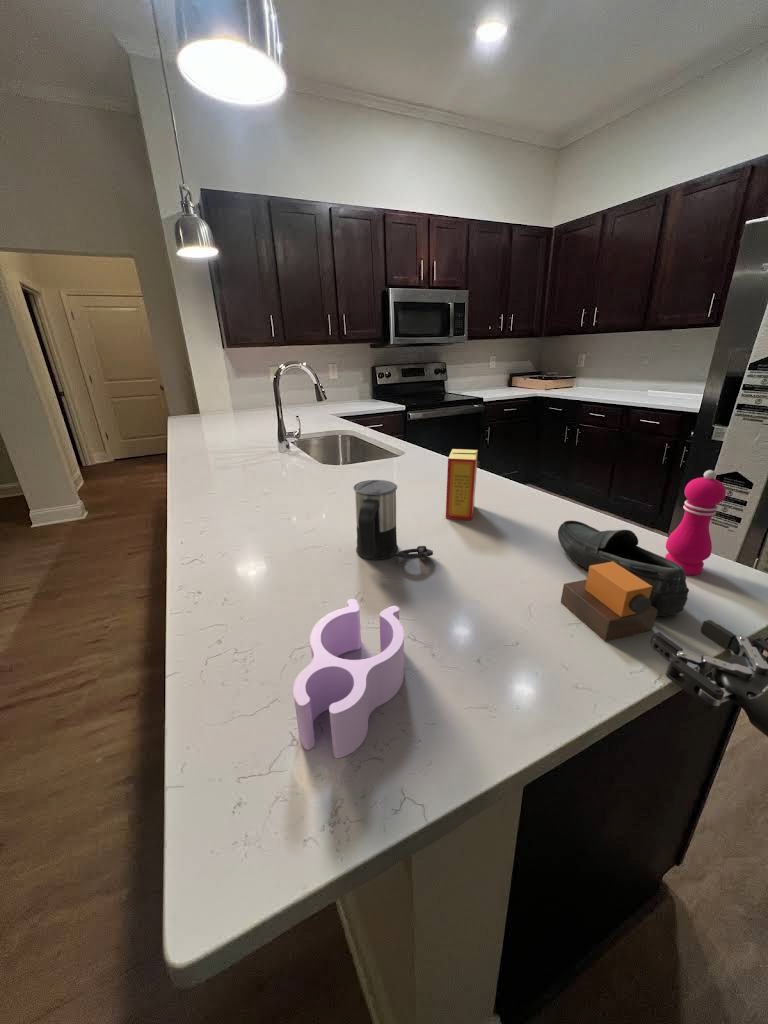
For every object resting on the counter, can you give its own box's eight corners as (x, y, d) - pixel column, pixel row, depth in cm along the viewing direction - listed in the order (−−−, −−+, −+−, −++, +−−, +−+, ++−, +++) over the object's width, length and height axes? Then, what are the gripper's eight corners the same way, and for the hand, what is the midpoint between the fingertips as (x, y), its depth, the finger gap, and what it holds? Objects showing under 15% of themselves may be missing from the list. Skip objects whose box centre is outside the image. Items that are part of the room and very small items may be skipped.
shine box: (652, 630, 66) (658, 610, 64) (604, 641, 63) (609, 621, 62) (603, 593, 75) (607, 575, 73) (560, 602, 73) (563, 583, 71)
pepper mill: (712, 571, 81) (745, 472, 73) (690, 580, 78) (722, 479, 70) (674, 555, 87) (701, 462, 79) (652, 563, 84) (678, 468, 76)
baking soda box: (471, 520, 105) (475, 458, 99) (445, 517, 107) (448, 457, 100) (473, 506, 113) (478, 448, 107) (449, 504, 115) (452, 447, 109)
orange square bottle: (652, 616, 63) (659, 590, 61) (627, 622, 62) (633, 596, 60) (607, 584, 71) (613, 561, 69) (584, 589, 70) (589, 565, 68)
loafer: (579, 538, 95) (587, 496, 90) (705, 613, 69) (723, 559, 65) (540, 546, 92) (546, 503, 88) (656, 627, 66) (672, 571, 62)
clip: (373, 768, 46) (371, 723, 43) (272, 740, 49) (265, 696, 46) (414, 646, 63) (415, 609, 60) (338, 632, 67) (335, 595, 64)
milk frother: (355, 541, 96) (352, 480, 90) (423, 537, 97) (424, 476, 91) (358, 574, 83) (354, 505, 77) (436, 568, 84) (439, 500, 78)
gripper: (889, 689, 42) (727, 598, 56) (786, 724, 39) (642, 618, 53) (857, 741, 45) (711, 642, 59) (758, 778, 41) (629, 664, 56)
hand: (678, 631), depth 56 cm, fingers open, 8 cm apart
